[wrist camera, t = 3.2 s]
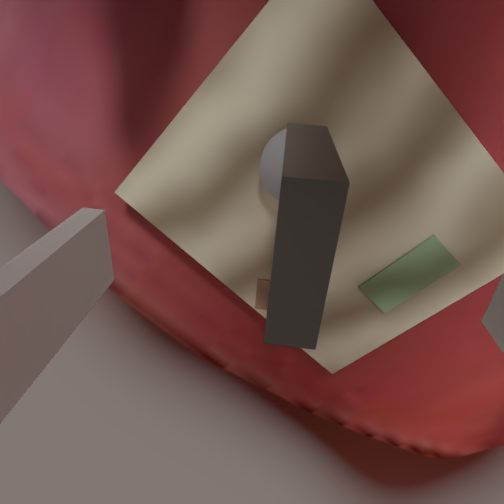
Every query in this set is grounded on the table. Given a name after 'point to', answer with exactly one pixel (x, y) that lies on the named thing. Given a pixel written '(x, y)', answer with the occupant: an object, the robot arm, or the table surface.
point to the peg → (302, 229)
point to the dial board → (355, 165)
